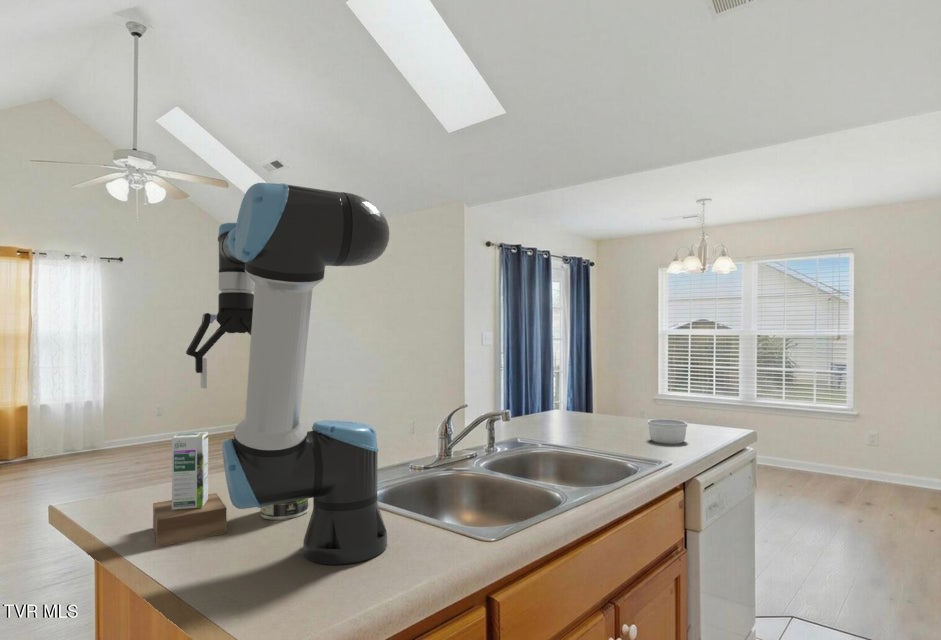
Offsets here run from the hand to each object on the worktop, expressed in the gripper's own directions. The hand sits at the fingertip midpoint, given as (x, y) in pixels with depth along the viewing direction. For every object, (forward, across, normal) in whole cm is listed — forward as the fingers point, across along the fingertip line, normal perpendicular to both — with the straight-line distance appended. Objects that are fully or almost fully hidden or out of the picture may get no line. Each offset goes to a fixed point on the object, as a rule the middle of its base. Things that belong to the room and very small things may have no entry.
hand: (236, 385), depth 123 cm
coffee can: (+28, -8, +8) cm, 31 cm away
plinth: (+28, +11, +8) cm, 31 cm away
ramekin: (+28, -142, +15) cm, 146 cm away
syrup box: (+23, +11, +8) cm, 27 cm away
